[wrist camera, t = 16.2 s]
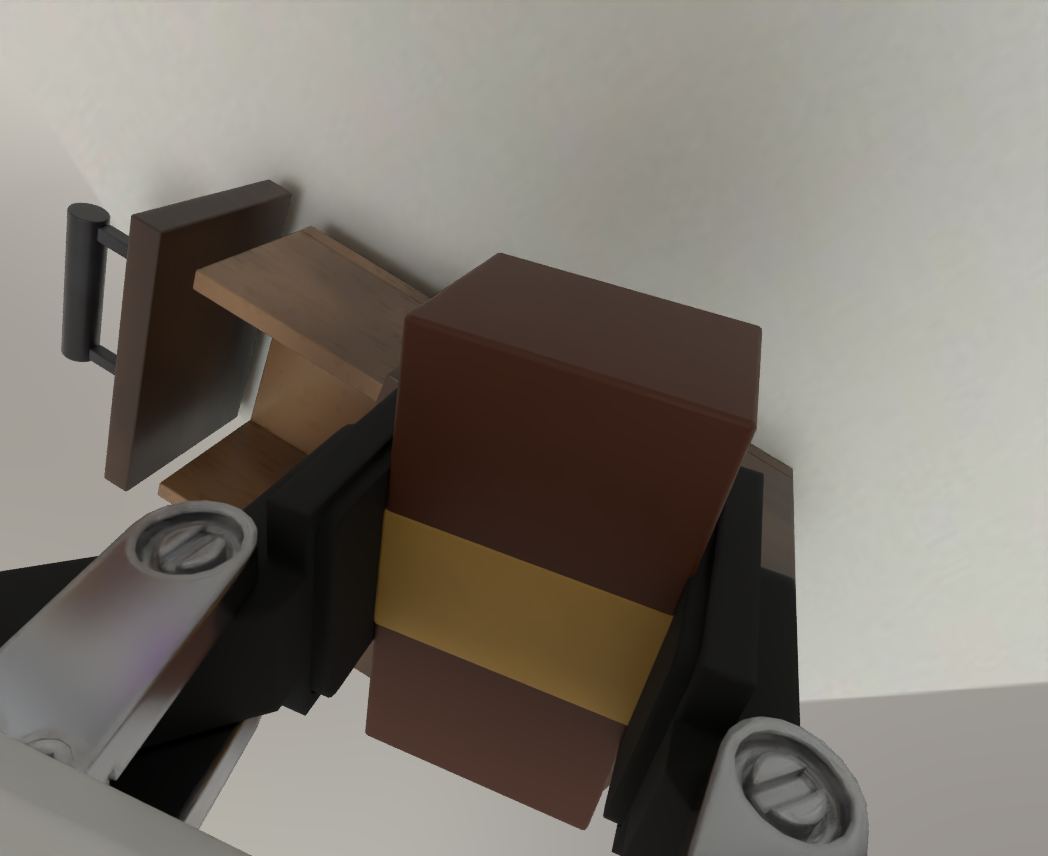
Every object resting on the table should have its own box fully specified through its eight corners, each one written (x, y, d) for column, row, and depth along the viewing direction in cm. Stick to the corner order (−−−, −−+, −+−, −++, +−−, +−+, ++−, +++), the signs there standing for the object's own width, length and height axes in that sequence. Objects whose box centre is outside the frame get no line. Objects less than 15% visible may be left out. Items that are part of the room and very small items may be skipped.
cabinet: (389, 505, 36) (286, 625, 29) (491, 286, 28) (386, 373, 21) (622, 651, 36) (580, 811, 28) (793, 469, 28) (797, 625, 20)
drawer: (140, 356, 36) (10, 419, 30) (171, 119, 28) (6, 138, 22) (437, 540, 35) (365, 643, 29) (544, 345, 28) (479, 428, 22)
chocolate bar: (438, 611, 13) (361, 736, 10) (496, 249, 9) (399, 314, 7) (624, 684, 12) (586, 835, 10) (765, 326, 9) (760, 426, 6)
